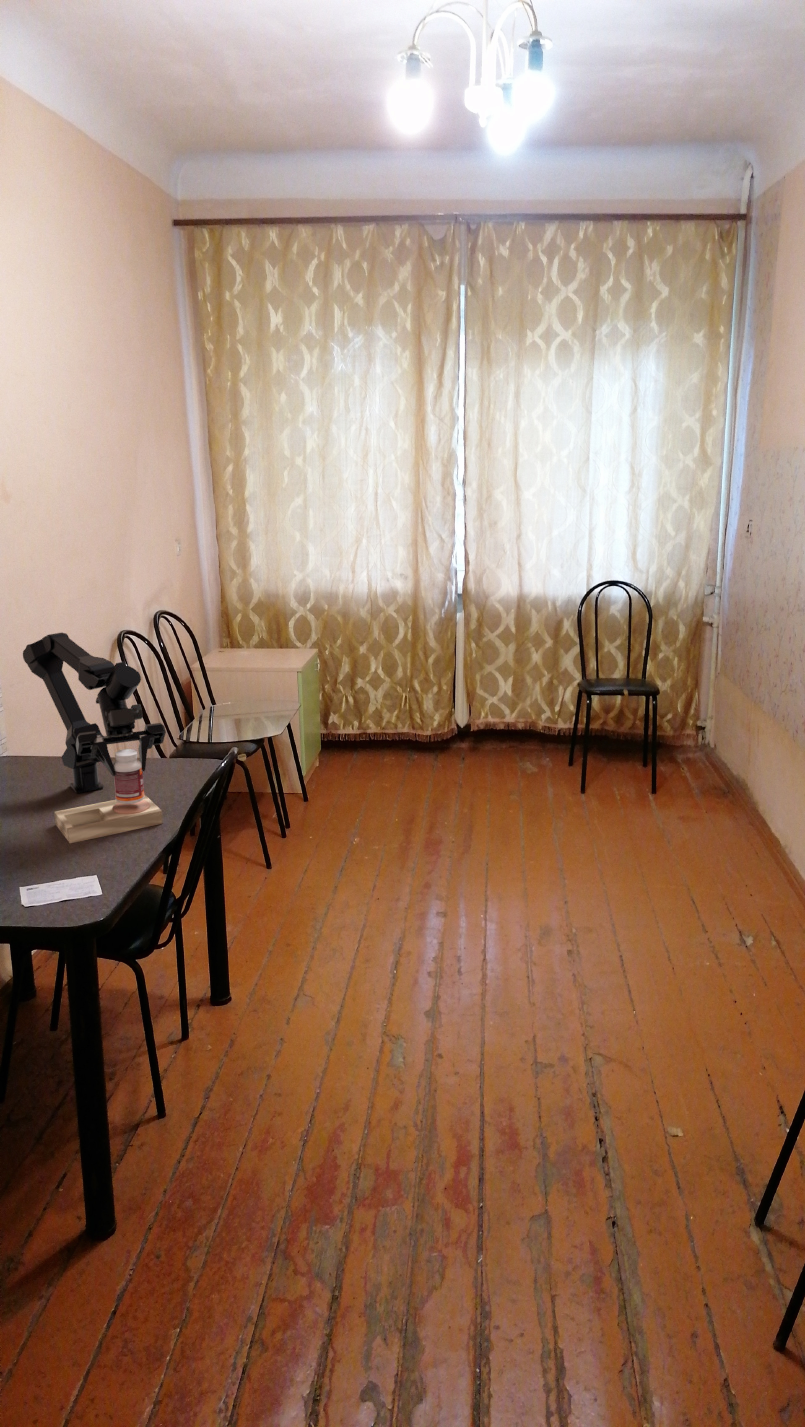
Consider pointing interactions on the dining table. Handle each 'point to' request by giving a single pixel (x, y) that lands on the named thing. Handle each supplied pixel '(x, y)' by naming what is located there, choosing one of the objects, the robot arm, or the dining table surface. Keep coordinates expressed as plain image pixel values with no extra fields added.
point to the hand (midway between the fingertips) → (129, 772)
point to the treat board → (106, 819)
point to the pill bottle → (128, 777)
